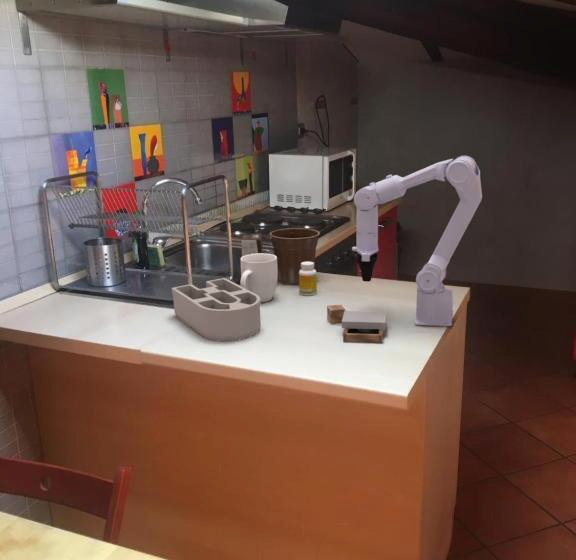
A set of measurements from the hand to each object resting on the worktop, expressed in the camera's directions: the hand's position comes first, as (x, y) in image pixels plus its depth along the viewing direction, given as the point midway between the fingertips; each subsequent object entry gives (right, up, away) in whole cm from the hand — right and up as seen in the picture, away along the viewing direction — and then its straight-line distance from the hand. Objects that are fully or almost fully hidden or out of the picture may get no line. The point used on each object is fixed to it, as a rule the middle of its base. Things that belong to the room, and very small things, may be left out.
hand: (366, 280), depth 174 cm
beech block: (-9, -11, -1) cm, 14 cm away
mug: (-31, -6, +18) cm, 36 cm away
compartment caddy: (-40, -12, -1) cm, 42 cm away
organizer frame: (-2, -13, -10) cm, 17 cm away
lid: (-2, -11, -10) cm, 15 cm away
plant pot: (-19, 0, +37) cm, 42 cm away
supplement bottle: (-15, -4, +23) cm, 28 cm away
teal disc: (-2, -13, -8) cm, 16 cm away
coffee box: (-33, -2, +34) cm, 47 cm away
